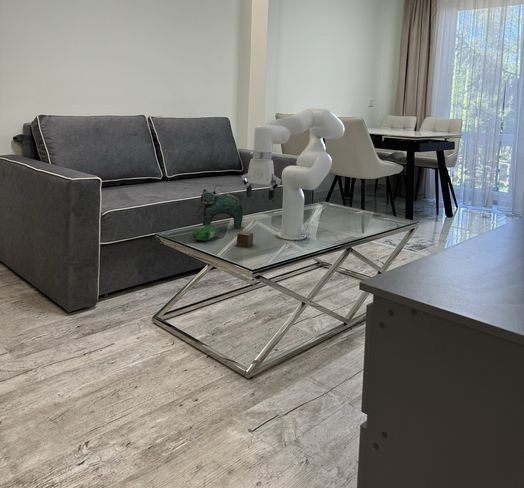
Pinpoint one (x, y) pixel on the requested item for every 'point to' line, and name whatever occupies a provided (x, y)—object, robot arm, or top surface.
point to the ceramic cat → (221, 206)
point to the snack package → (205, 232)
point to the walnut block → (245, 239)
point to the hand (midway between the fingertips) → (259, 198)
